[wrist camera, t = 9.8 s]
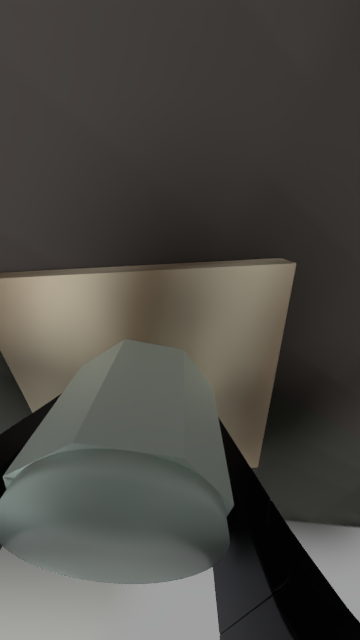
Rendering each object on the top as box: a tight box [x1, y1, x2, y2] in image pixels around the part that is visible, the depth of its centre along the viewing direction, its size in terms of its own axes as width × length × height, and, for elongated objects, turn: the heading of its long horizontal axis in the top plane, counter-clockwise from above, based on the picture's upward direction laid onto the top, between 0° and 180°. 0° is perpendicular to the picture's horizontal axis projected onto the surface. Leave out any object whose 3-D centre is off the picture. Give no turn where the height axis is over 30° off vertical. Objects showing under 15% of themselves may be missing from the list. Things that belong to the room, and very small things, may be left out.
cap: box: [0, 339, 234, 584], centre depth 7 cm, size 6×6×5 cm
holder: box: [0, 258, 296, 468], centre depth 9 cm, size 12×12×3 cm
